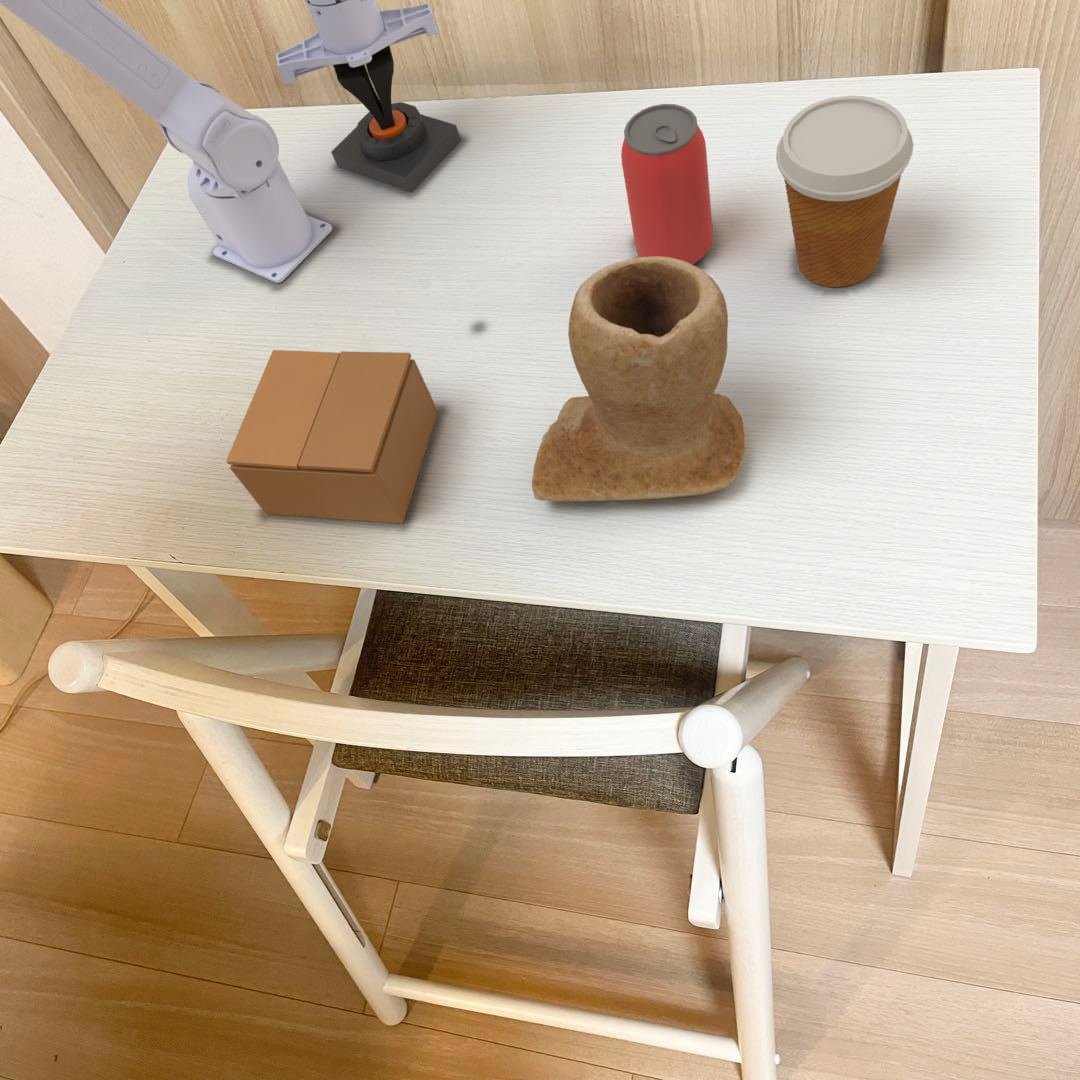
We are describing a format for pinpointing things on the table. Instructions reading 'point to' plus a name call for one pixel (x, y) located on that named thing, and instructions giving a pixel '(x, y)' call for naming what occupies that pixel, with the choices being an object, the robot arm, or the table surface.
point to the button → (392, 131)
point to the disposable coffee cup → (842, 184)
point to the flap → (283, 409)
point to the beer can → (667, 183)
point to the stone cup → (644, 390)
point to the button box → (398, 149)
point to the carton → (355, 445)
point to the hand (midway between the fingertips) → (387, 122)
